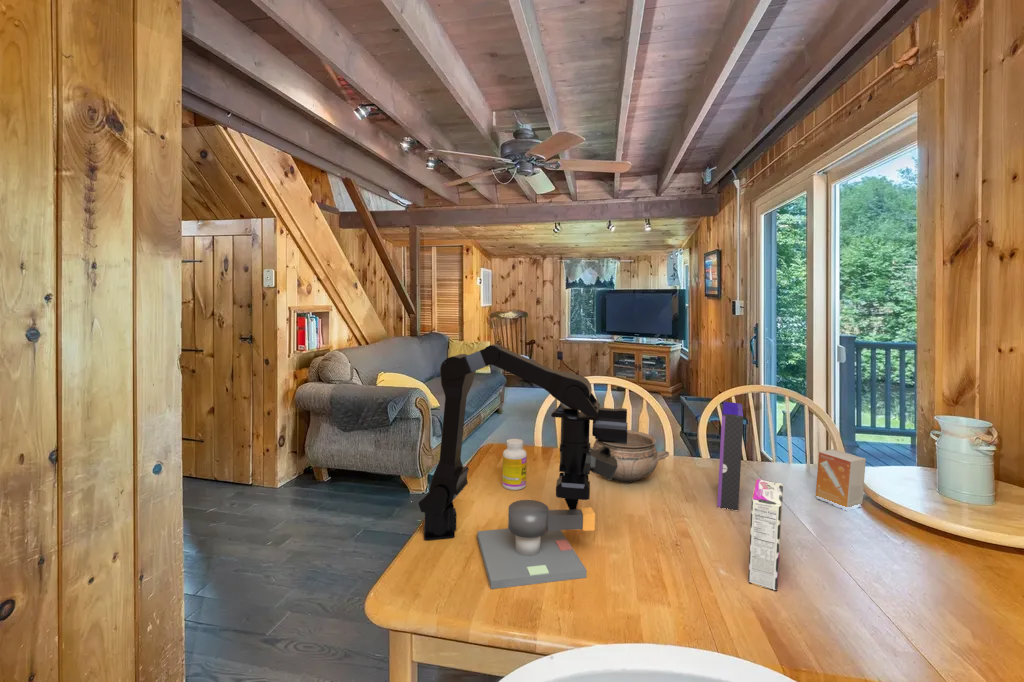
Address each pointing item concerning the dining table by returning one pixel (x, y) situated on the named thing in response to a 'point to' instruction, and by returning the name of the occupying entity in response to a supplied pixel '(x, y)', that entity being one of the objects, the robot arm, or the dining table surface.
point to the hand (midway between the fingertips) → (572, 512)
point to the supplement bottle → (514, 465)
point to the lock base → (528, 558)
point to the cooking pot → (633, 456)
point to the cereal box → (730, 456)
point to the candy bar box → (765, 533)
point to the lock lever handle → (546, 519)
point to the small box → (840, 477)
